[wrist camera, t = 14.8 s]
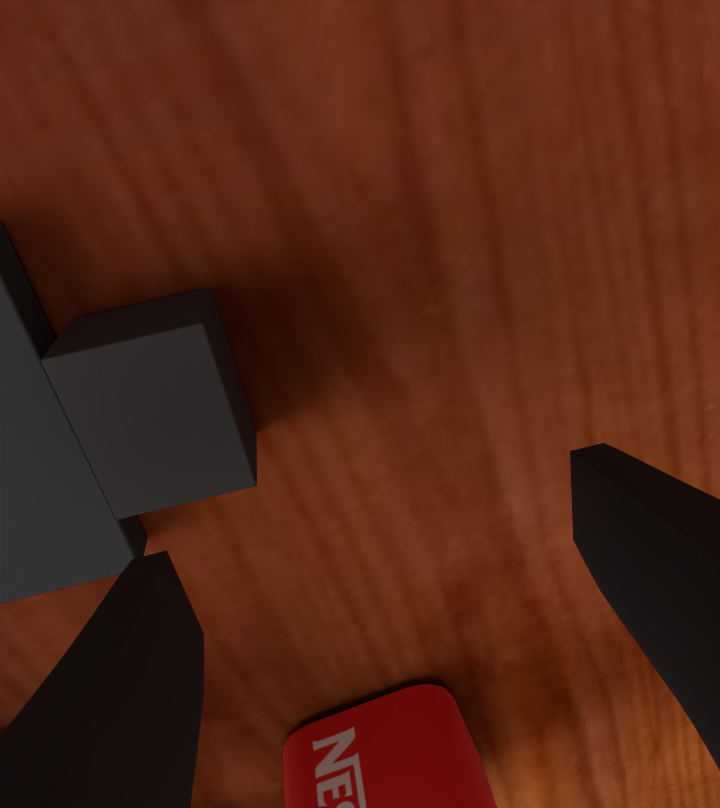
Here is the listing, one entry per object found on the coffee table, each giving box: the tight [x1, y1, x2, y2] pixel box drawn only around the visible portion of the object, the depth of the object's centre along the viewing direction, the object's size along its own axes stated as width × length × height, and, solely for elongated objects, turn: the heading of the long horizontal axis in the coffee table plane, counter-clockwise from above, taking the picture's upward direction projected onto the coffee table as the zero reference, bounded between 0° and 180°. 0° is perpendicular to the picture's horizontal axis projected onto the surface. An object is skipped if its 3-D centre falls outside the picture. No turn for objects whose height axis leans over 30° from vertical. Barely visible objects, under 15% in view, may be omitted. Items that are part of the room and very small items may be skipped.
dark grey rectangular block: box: [41, 288, 257, 519], centre depth 18 cm, size 4×5×3 cm
